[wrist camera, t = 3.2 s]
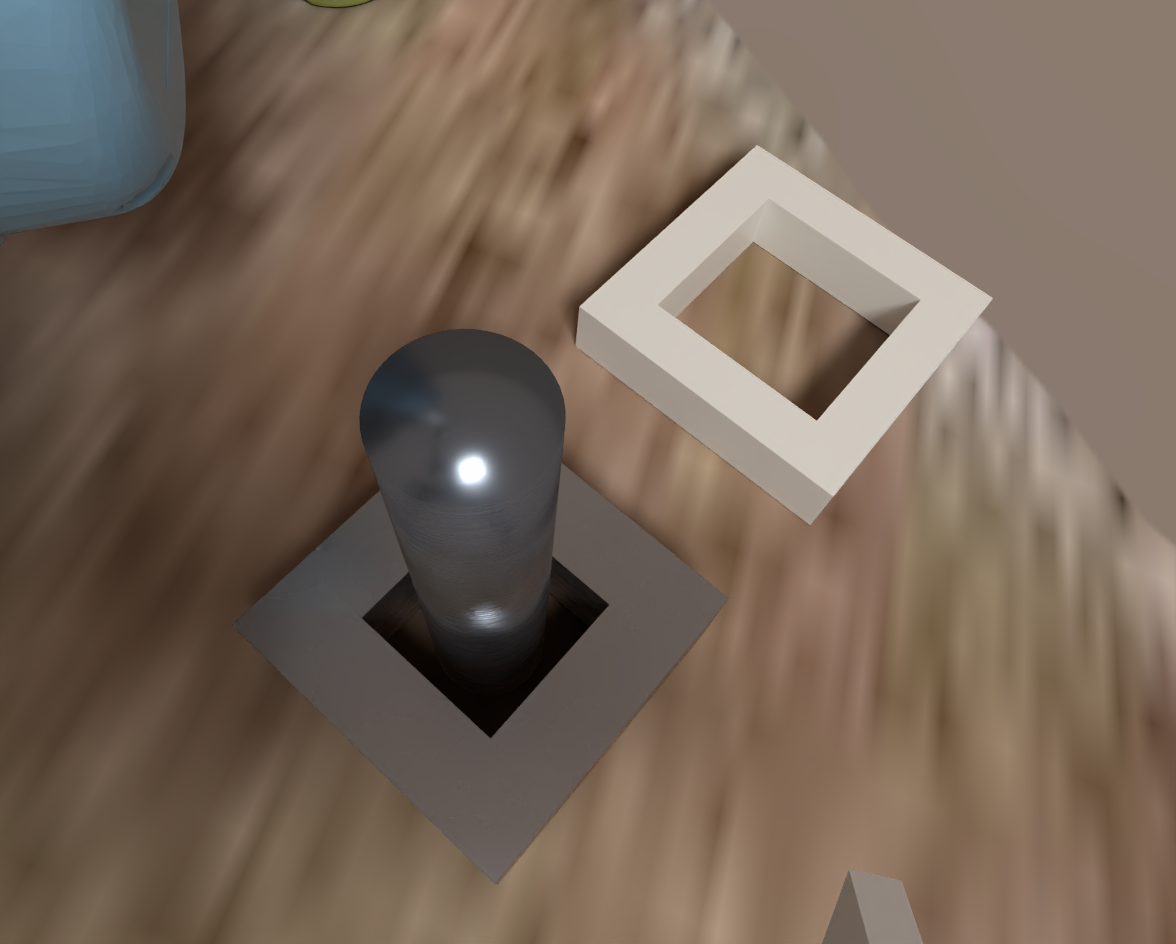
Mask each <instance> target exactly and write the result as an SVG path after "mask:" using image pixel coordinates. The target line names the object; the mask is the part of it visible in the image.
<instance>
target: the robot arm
mask: <svg viewBox="0 0 1176 944" xmlns="http://www.w3.org/2000/svg"><path fill="white" fill-rule="evenodd" d="M185 122H186V88H185V69H184V56H183V46H182V36H181V27H180V18H179V9H178V0H0V244H1V243H3V241H4V240H5V238H6V237H7V235H8V234H11V233H17V232H23V231H29V230H35V229H40V228H46V227H52V226H58V225H64V224H70V223H75V222H81V221H87V220H93V219H99V218H105V217H111V216H116V215H120V214H124V213H127V212H129V211H131V210H134V209H136V208H138V207H141V206H142V205H144V204H146V203H147V202H149V201H150V200H152V199H153V198H154V197H156V196H157V195H158V194H159V193H160V192H161V190H162V189H163V188H164V187H165V186H166V185H167V183H168V182H169V180H170V179H171V177H172V175H173V173H174V171H175V169H176V167H177V164H178V162H179V159H180V155H181V151H182V146H183V140H184V132H185ZM822 944H923V942H922V939H921V936H920V933H919V930H918V927H917V925H916V922H915V919H914V916H913V913H912V910H911V907H910V904H909V901H908V898H907V895H906V892H905V890H904V887H903V884H902V881H901V880H897V879H892V878H887V877H883V876H878V875H873V874H868V873H864V872H859V871H854V870H850V869H849V871H848V874H847V876H846V879H845V882H844V885H843V887H842V890H841V893H840V896H839V899H838V901H837V904H836V907H835V910H834V912H833V915H832V918H831V921H830V923H829V926H828V929H827V932H826V934H825V937H824V940H823V943H822Z"/></svg>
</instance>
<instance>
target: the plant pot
mask: <svg viewBox="0 0 1176 944" xmlns="http://www.w3.org/2000/svg"><path fill="white" fill-rule="evenodd" d="M307 1H308V2H310V3H311V4H314V5H318V6H325V7H346V6H353V5H358V4H362V3H365V2H368V1H371V0H307Z"/></svg>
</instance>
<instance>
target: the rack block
mask: <svg viewBox="0 0 1176 944" xmlns="http://www.w3.org/2000/svg"><path fill="white" fill-rule="evenodd" d="M752 242H754V243H756V244H757V245H759V246H760V247H762V248H763V249H765V250H766V251H767V252H769V253H770V254H772V255H773V256H775V257H776V258H778V259H779V260H781V261H782V262H784V263H785V264H787V265H788V266H789V267H791V268H792V269H794V270H795V271H797V272H798V273H800V274H801V275H803V276H804V277H806V278H807V279H808V280H810V281H811V282H813V283H814V284H816V285H817V286H819V287H820V288H822V289H823V290H825V291H826V292H828V293H829V294H830V295H832V296H833V297H835V298H836V299H838V300H839V301H841V302H842V303H844V304H845V305H847V306H848V307H849V308H851V309H852V310H854V311H855V312H857V313H858V314H860V315H861V316H863V317H864V318H866V319H867V320H868V321H870V322H871V323H873V324H874V325H876V326H877V327H879V328H880V329H882V330H883V331H885V332H886V333H888V334H889V335H890V336H889V337H888V339H887V340H886V341H885V342H884V343H883V344H882V346H881V347H880V348H879V349H878V350H877V351H876V353H875V354H874V355H873V356H872V357H871V358H870V360H869V361H868V362H867V363H866V364H865V365H864V367H863V368H862V369H861V370H860V371H859V372H858V374H857V375H856V376H855V377H854V378H853V379H852V380H851V382H850V383H849V384H848V385H847V386H846V387H845V389H844V390H843V391H842V392H841V393H840V394H839V396H838V397H837V398H836V399H835V400H834V401H833V403H832V404H831V405H830V406H829V407H828V408H827V410H826V411H825V412H824V413H823V414H822V415H821V417H820V418H819V419H818V420H817V421H816V420H815V419H814V418H812V417H811V416H810V415H808V414H807V413H805V412H804V411H803V410H801V409H800V408H799V407H797V406H796V405H794V404H793V403H792V402H790V401H789V400H788V399H786V398H785V397H783V396H782V395H781V394H779V393H778V392H777V391H775V390H774V389H772V388H771V387H770V386H768V385H767V384H766V383H764V382H763V381H761V380H760V379H759V378H757V377H756V376H755V375H753V374H752V373H750V372H749V371H748V370H746V369H745V368H744V367H742V366H741V365H739V364H738V363H737V362H735V361H734V360H733V359H731V358H730V357H728V356H727V355H726V354H724V353H723V352H722V351H720V350H719V349H717V348H716V347H715V346H713V345H712V344H711V343H709V342H708V341H707V340H705V339H704V338H702V337H701V336H700V335H698V334H697V333H696V332H694V331H693V330H691V329H690V328H689V327H687V326H686V325H685V324H683V323H682V322H680V321H679V320H678V319H676V317H677V316H678V315H679V314H680V313H681V312H682V311H683V310H684V309H685V308H686V307H687V306H688V305H689V304H690V303H691V302H692V301H693V300H694V299H695V298H696V297H697V296H698V295H699V294H700V293H701V292H702V291H703V290H704V289H705V288H706V287H707V286H708V285H709V284H710V283H711V282H713V281H714V280H715V279H716V278H717V277H718V276H719V275H720V274H721V273H722V272H723V271H724V270H725V269H726V268H727V267H728V266H729V265H730V264H731V263H732V262H733V261H734V260H735V259H736V258H737V257H738V256H739V255H740V254H741V253H742V252H743V251H744V250H745V249H746V248H747V247H748V246H749V245H750V244H751V243H752ZM992 299H993V298H992V297H990V296H989V295H987V294H986V293H984V292H983V291H981V290H979V289H978V288H976V287H975V286H973V285H972V284H970V283H969V282H967V281H966V280H964V279H963V278H961V277H959V276H958V275H956V274H955V273H953V272H952V271H950V270H949V269H947V268H946V267H944V266H943V265H941V264H939V263H938V262H936V261H935V260H933V259H932V258H930V257H928V256H927V255H926V254H924V253H923V252H921V251H919V250H918V249H916V248H915V247H913V246H912V245H910V244H909V243H907V242H906V241H904V240H903V239H901V238H899V237H898V236H896V235H895V234H893V233H892V232H890V231H889V230H887V229H886V228H884V227H883V226H881V225H879V224H878V223H876V222H875V221H873V220H872V219H870V218H869V217H867V216H866V215H864V214H862V213H861V212H859V211H858V210H856V209H855V208H853V207H852V206H850V205H849V204H847V203H846V202H844V201H842V200H841V199H839V198H838V197H836V196H835V195H833V194H832V193H830V192H829V191H827V190H826V189H824V188H822V187H821V186H819V185H818V184H816V183H815V182H813V181H812V180H810V179H809V178H807V177H806V176H804V175H802V174H801V173H799V172H798V171H796V170H795V169H793V168H792V167H790V166H789V165H787V164H786V163H784V162H782V161H781V160H779V159H778V158H776V157H775V156H773V155H772V154H770V153H769V152H767V151H766V150H764V149H762V148H761V147H759V146H758V145H757V146H756V147H755V148H753V149H752V150H751V151H750V152H749V153H748V154H747V155H746V156H745V157H744V158H742V159H741V160H740V161H739V162H738V163H737V164H736V165H735V166H734V167H733V168H731V169H730V170H729V171H728V172H727V173H726V174H725V175H724V176H723V177H721V178H720V179H719V180H718V181H717V182H716V183H715V184H714V185H713V186H712V187H710V188H709V189H708V190H707V191H706V192H705V193H704V194H703V195H702V196H701V197H699V198H698V199H697V200H696V201H695V202H694V203H693V204H692V205H691V206H690V207H688V208H687V209H686V210H685V211H684V212H683V213H682V214H681V215H680V216H679V217H677V218H676V219H675V220H674V221H673V222H672V223H671V224H670V225H669V226H668V227H666V228H665V229H664V230H663V231H662V232H661V233H660V234H659V235H658V236H657V237H655V238H654V239H653V240H652V241H651V242H650V243H649V244H648V245H647V246H646V247H644V248H643V249H642V250H641V251H640V252H639V253H638V254H637V255H636V256H634V257H633V258H632V259H631V260H630V261H629V262H628V263H627V264H626V265H625V266H623V267H622V268H621V269H620V270H619V271H618V272H617V273H616V274H615V275H614V276H612V277H611V278H610V279H609V280H608V281H607V282H606V283H605V284H604V285H603V286H601V287H600V288H599V289H598V290H597V291H596V292H595V293H594V294H593V295H592V296H590V297H589V298H588V299H587V300H586V301H585V302H584V303H583V304H582V305H581V306H579V316H578V326H577V335H576V345H575V346H576V347H577V348H579V349H580V350H581V351H583V352H584V353H585V354H587V355H588V356H589V357H591V358H592V359H593V360H594V361H596V362H597V363H598V364H600V365H601V366H602V367H604V368H605V369H606V370H608V371H609V372H610V373H611V374H613V375H614V376H615V377H617V378H618V379H619V380H621V381H622V382H623V383H625V384H626V385H627V386H628V387H630V388H631V389H632V390H634V391H635V392H636V393H638V394H639V395H640V396H642V397H643V398H644V399H645V400H647V401H648V402H649V403H651V404H652V405H653V406H655V407H656V408H657V409H659V410H660V411H661V412H662V413H664V414H665V415H666V416H668V417H669V418H670V419H672V420H673V421H674V422H676V423H677V424H678V425H680V426H681V427H682V428H683V429H685V430H686V431H687V432H689V433H690V434H691V435H693V436H694V437H695V438H697V439H698V440H699V441H700V442H702V443H703V444H704V445H706V446H707V447H708V448H710V449H711V450H712V451H714V452H715V453H716V454H717V455H719V456H720V457H721V458H723V459H724V460H725V461H727V462H728V463H729V464H731V465H732V466H733V467H734V468H736V469H737V470H738V471H740V472H741V473H742V474H744V475H745V476H746V477H748V478H749V479H750V480H751V481H753V482H754V483H755V484H757V485H758V486H759V487H761V488H762V489H763V490H765V491H766V492H767V493H768V494H770V495H771V496H772V497H774V498H775V499H776V500H778V501H779V502H780V503H782V504H783V505H784V506H785V507H787V508H788V509H789V510H791V511H792V512H793V513H795V514H796V515H797V516H799V517H800V518H801V519H803V520H804V521H805V522H806V523H808V524H809V525H811V524H812V522H813V521H814V520H815V519H816V517H817V516H818V515H819V514H820V512H821V511H822V510H823V509H824V508H825V506H826V505H827V504H828V503H829V501H830V500H831V499H832V498H833V496H834V495H835V494H836V493H837V491H838V490H839V489H840V488H841V486H842V485H843V484H844V483H845V481H846V480H847V479H848V478H849V477H850V475H851V474H852V473H853V472H854V470H855V469H856V468H857V467H858V465H859V464H860V463H861V462H862V460H863V459H864V458H865V457H866V455H867V454H868V453H869V452H870V450H871V449H872V448H873V447H874V445H875V444H876V443H877V442H878V441H879V439H880V438H881V437H882V436H883V434H884V433H885V432H886V431H887V429H888V428H889V427H890V426H891V424H892V423H893V422H894V421H895V419H896V418H897V417H898V416H899V414H900V413H901V412H902V411H903V410H904V408H905V407H906V406H907V405H908V403H909V402H910V401H911V400H912V398H913V397H914V396H915V395H916V393H917V392H918V391H919V390H920V388H921V387H922V386H923V385H924V383H925V382H926V381H927V380H928V379H929V377H930V376H931V375H932V374H933V372H934V371H935V370H936V369H937V367H938V366H939V365H940V364H941V362H942V361H943V360H944V359H945V357H946V356H947V355H948V354H949V352H950V351H951V350H952V349H953V348H954V346H955V345H956V344H957V343H958V341H959V340H960V339H961V338H962V336H963V335H964V334H965V333H966V331H967V330H968V329H969V328H970V326H971V325H972V324H973V323H974V321H975V320H976V319H977V318H978V316H979V315H980V314H981V313H982V312H983V310H984V309H985V308H986V307H987V305H988V304H989V302H991V300H992Z"/></svg>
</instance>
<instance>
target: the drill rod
mask: <svg viewBox="0 0 1176 944" xmlns="http://www.w3.org/2000/svg"><path fill="white" fill-rule="evenodd" d="M360 431H361V436H362V441H363V444H364V447H365V450H366V452H367V455H368V458H369V461H370V464H371V467H372V469H373V472H374V475H375V478H376V481H377V484H378V486H379V489H380V492H381V495H382V498H383V501H384V503H385V506H386V509H387V512H388V515H389V517H390V520H391V523H392V526H393V529H394V532H395V534H396V537H397V540H398V543H399V546H400V549H401V551H402V554H403V557H404V560H405V563H406V566H407V568H408V571H409V574H410V577H411V580H412V583H413V585H414V588H415V591H416V594H417V597H418V599H419V602H420V605H421V608H422V611H423V614H424V616H425V619H426V622H427V625H428V628H429V631H430V633H431V636H432V639H433V642H434V645H435V648H436V650H437V653H438V656H439V659H440V662H441V664H442V667H443V669H444V671H445V672H446V674H447V675H448V676H449V678H450V679H451V680H452V681H453V682H454V683H455V684H457V685H458V686H459V687H461V688H462V689H464V690H466V691H468V692H471V693H474V694H478V695H484V696H494V695H500V694H504V693H507V692H510V691H512V690H514V689H516V688H518V687H519V686H521V685H522V684H523V683H525V682H526V681H527V680H528V679H529V678H530V677H531V675H532V674H533V673H534V672H535V670H536V668H537V666H538V664H539V662H540V660H541V656H542V652H543V645H544V635H545V625H546V615H547V604H548V594H549V584H550V574H551V564H552V553H553V543H554V533H555V523H556V513H557V502H558V492H559V482H560V472H561V462H562V451H563V441H564V431H565V405H564V399H563V395H562V392H561V389H560V386H559V384H558V382H557V380H556V378H555V376H554V375H553V373H552V372H551V370H550V369H549V367H548V366H547V365H546V364H545V363H544V362H543V361H542V359H541V358H539V357H538V356H537V355H536V354H535V353H534V352H533V351H531V350H530V349H528V348H527V347H525V346H524V345H522V344H521V343H519V342H517V341H515V340H513V339H511V338H508V337H505V336H503V335H500V334H496V333H493V332H489V331H482V330H475V329H456V330H447V331H441V332H436V333H433V334H430V335H426V336H424V337H421V338H419V339H417V340H414V341H412V342H410V343H409V344H407V345H405V346H403V347H402V348H400V349H399V350H398V351H396V352H395V353H394V354H392V355H391V356H390V357H389V358H388V359H387V360H386V361H385V362H384V363H383V364H382V365H381V366H380V367H379V369H378V370H377V371H376V372H375V374H374V375H373V377H372V379H371V380H370V382H369V384H368V386H367V388H366V391H365V393H364V396H363V400H362V404H361V410H360Z"/></svg>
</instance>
